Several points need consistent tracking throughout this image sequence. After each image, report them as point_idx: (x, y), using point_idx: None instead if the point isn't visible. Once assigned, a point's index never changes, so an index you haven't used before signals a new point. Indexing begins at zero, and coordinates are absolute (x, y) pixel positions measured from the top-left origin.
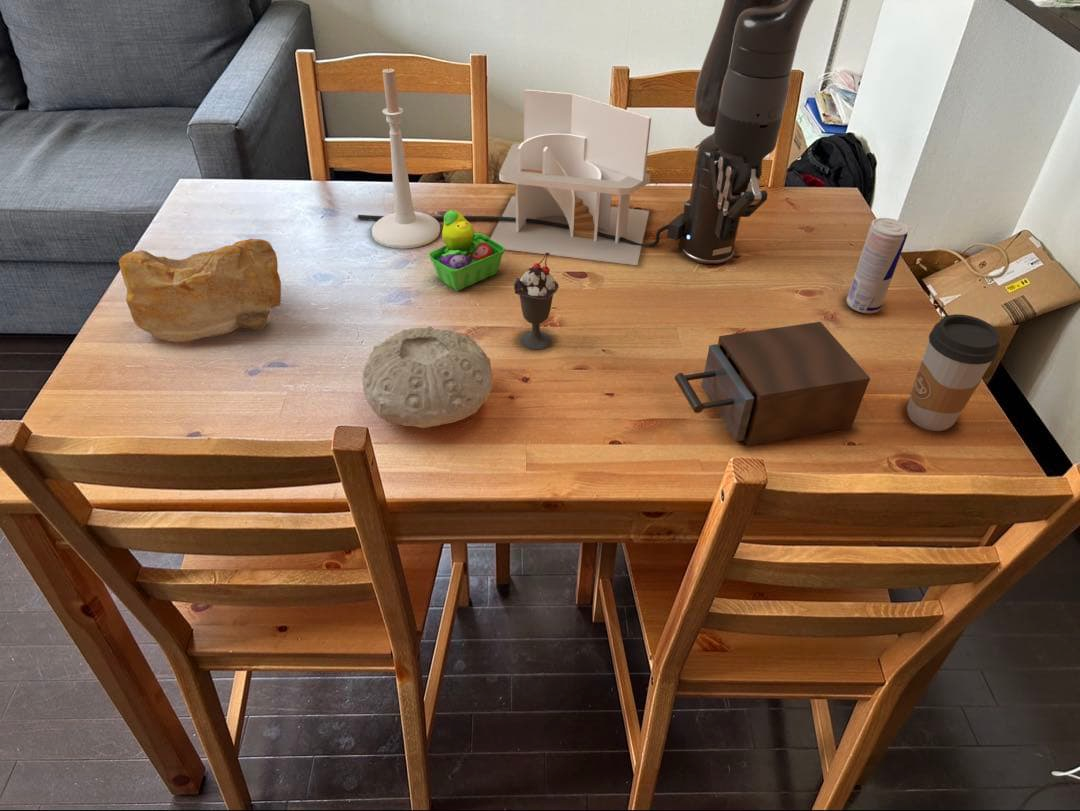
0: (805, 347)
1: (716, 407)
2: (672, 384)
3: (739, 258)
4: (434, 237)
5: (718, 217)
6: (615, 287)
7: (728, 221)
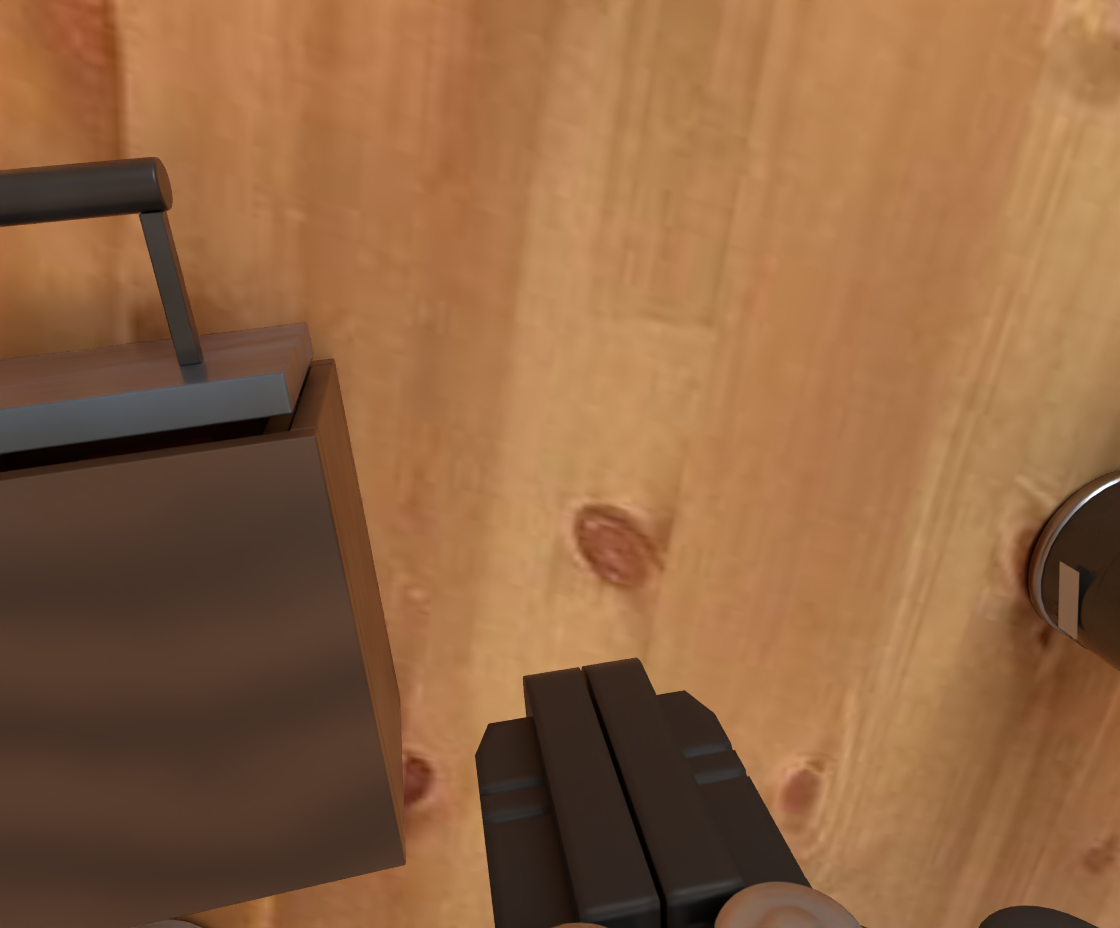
0: (212, 780)
1: (144, 343)
2: (356, 212)
3: (1035, 642)
4: None
5: (694, 796)
6: (1025, 142)
7: (497, 917)
